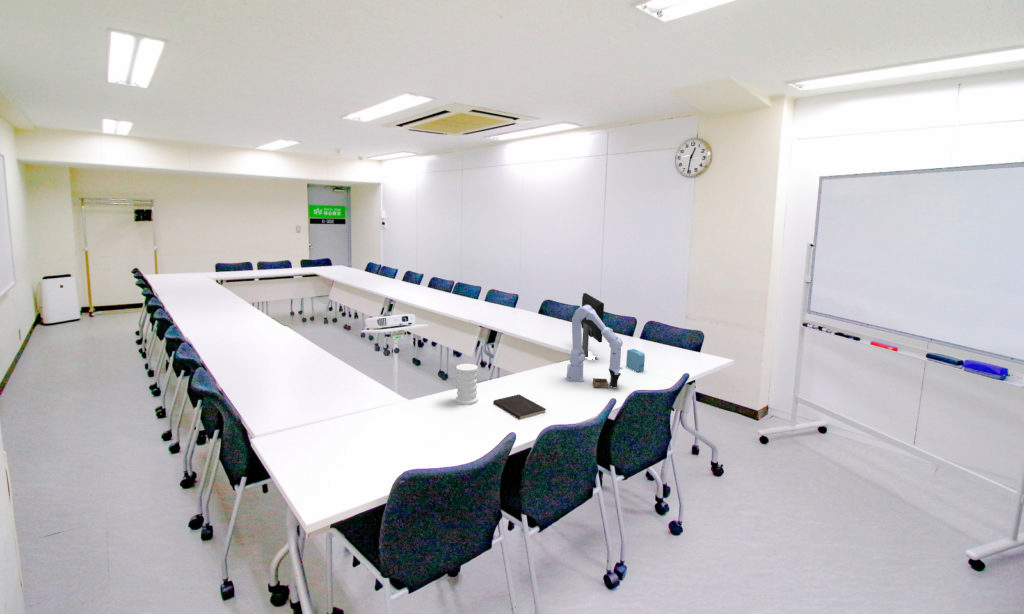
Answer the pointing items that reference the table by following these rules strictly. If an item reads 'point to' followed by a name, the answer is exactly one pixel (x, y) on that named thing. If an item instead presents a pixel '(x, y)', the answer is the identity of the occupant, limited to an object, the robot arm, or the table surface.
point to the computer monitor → (591, 322)
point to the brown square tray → (600, 383)
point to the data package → (635, 360)
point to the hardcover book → (519, 406)
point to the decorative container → (466, 384)
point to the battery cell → (612, 384)
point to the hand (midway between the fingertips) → (613, 383)
